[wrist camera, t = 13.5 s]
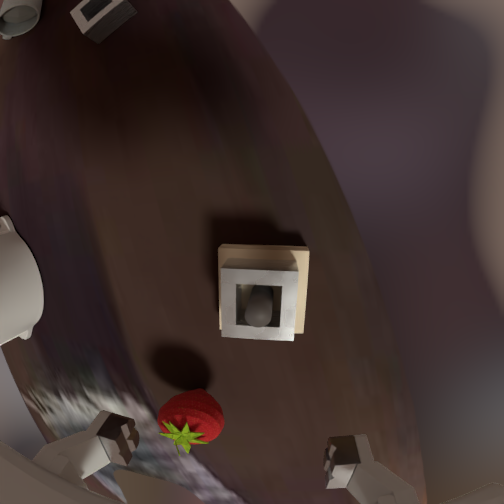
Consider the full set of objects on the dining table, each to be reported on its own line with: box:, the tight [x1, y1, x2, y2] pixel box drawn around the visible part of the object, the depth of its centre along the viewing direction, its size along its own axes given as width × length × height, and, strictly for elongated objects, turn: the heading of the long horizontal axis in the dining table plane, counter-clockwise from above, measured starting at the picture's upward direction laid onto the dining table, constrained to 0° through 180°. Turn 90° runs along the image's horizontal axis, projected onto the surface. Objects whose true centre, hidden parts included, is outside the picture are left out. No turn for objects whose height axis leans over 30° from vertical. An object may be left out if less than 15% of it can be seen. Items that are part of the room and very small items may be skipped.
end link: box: [221, 258, 299, 341], centre depth 25 cm, size 6×6×4 cm
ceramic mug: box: [0, 0, 42, 39], centre depth 20 cm, size 11×8×8 cm
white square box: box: [70, 0, 138, 44], centre depth 22 cm, size 6×6×4 cm
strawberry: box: [157, 388, 224, 456], centre depth 27 cm, size 6×8×10 cm
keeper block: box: [218, 244, 309, 333], centre depth 25 cm, size 8×8×7 cm
